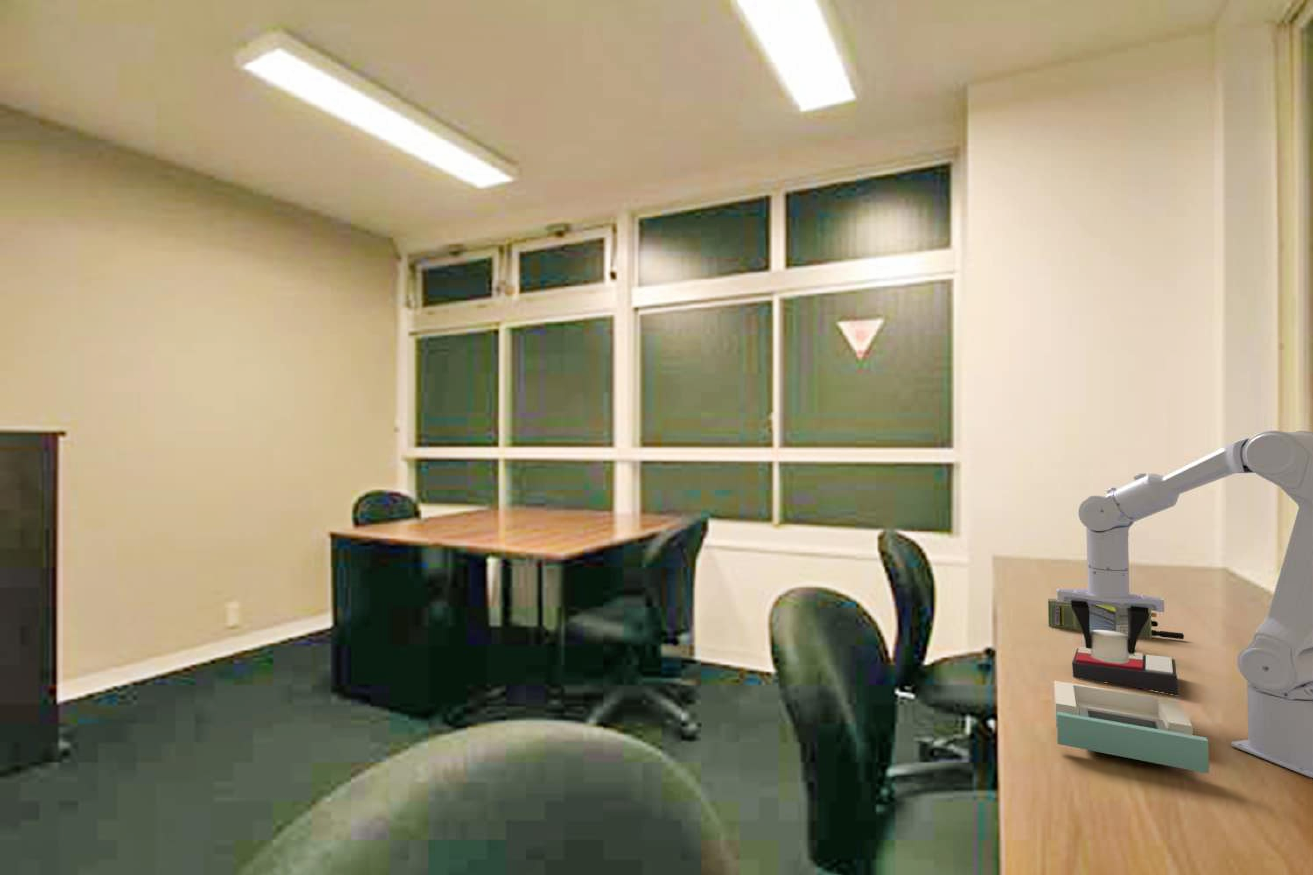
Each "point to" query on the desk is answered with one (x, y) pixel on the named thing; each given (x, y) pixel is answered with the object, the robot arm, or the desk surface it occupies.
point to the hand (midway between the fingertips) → (1109, 649)
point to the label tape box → (1108, 618)
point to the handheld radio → (1066, 619)
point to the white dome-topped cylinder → (1109, 646)
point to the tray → (1132, 738)
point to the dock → (1121, 704)
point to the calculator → (1128, 671)
